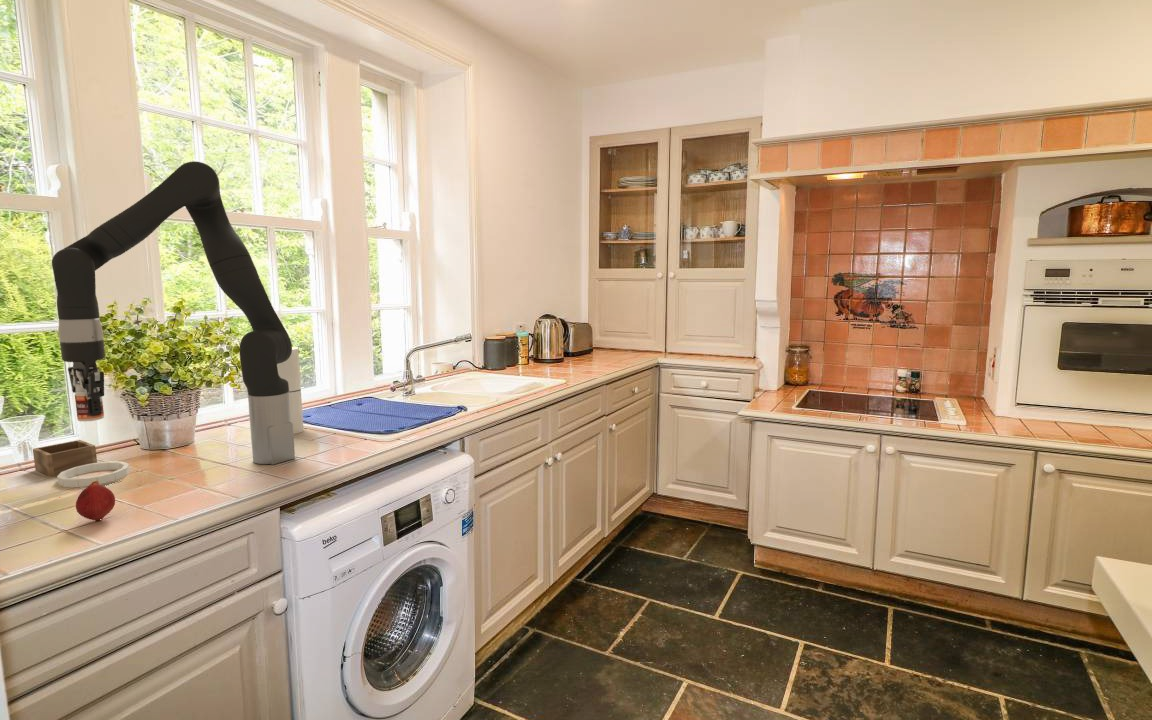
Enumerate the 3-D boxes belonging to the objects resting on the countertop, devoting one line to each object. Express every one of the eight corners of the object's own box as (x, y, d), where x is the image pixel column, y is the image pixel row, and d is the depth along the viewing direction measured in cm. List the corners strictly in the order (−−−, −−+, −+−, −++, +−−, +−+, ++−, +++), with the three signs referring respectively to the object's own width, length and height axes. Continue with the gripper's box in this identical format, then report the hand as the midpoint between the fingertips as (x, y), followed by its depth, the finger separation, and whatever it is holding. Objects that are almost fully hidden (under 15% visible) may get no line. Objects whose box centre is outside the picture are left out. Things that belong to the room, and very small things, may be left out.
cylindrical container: (284, 435, 172) (278, 351, 169) (272, 431, 177) (266, 348, 173) (308, 430, 178) (302, 348, 174) (296, 426, 182) (290, 346, 179)
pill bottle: (74, 422, 131) (70, 385, 130) (81, 417, 136) (76, 382, 134) (101, 420, 133) (97, 384, 132) (107, 415, 138) (103, 380, 136)
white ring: (139, 477, 137) (137, 467, 137) (72, 494, 127) (71, 483, 126) (115, 468, 144) (114, 458, 143) (50, 483, 133) (49, 472, 133)
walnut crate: (98, 469, 143) (95, 445, 142) (50, 480, 135) (47, 455, 134) (82, 463, 147) (79, 439, 146) (35, 473, 140) (32, 448, 139)
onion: (85, 529, 110) (80, 488, 108) (73, 522, 113) (68, 482, 111) (122, 519, 114) (117, 479, 113) (109, 512, 117) (105, 473, 116)
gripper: (115, 339, 131) (123, 414, 133) (90, 335, 139) (98, 406, 141) (72, 343, 125) (81, 421, 127) (49, 338, 133) (58, 412, 135)
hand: (90, 413), depth 134 cm, fingers closed on pill bottle, 4 cm apart
